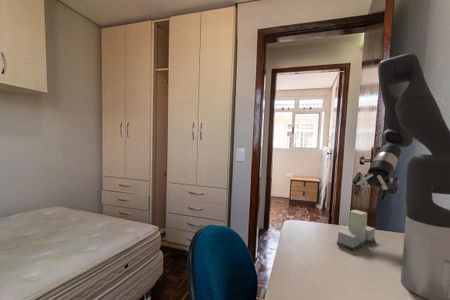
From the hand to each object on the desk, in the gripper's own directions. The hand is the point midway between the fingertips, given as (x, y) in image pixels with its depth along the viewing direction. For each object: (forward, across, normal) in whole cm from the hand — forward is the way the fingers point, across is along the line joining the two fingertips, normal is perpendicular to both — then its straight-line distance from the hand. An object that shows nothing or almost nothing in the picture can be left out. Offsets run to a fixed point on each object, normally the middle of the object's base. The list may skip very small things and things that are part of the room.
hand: (367, 197), depth 81 cm
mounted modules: (+16, 0, +7) cm, 17 cm away
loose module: (+15, 0, +6) cm, 16 cm away
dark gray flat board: (+16, 0, +7) cm, 17 cm away
